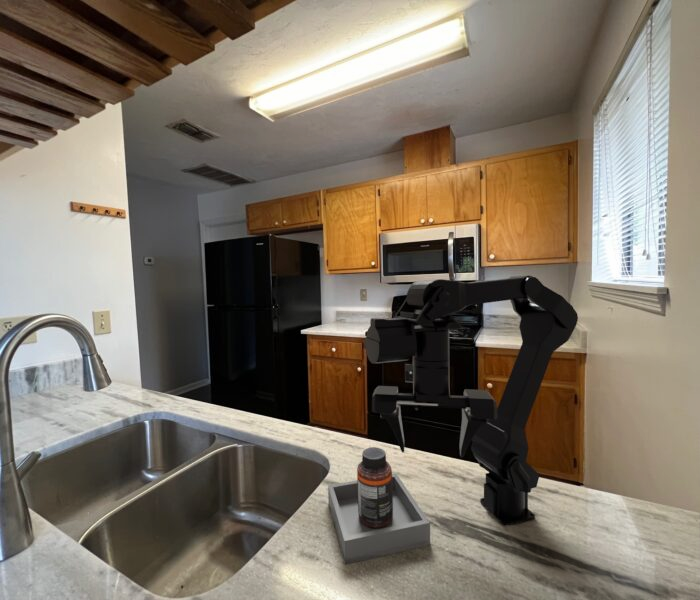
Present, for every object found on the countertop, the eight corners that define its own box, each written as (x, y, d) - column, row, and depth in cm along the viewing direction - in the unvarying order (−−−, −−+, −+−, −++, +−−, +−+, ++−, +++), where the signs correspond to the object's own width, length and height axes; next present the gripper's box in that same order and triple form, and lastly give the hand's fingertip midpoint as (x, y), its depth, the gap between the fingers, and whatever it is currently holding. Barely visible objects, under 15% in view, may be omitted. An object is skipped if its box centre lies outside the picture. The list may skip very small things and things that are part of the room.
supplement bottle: (371, 501, 58) (370, 440, 58) (399, 515, 55) (398, 450, 54) (351, 519, 54) (349, 453, 54) (379, 536, 50) (378, 465, 50)
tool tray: (396, 491, 62) (396, 473, 62) (430, 544, 49) (430, 522, 49) (328, 503, 59) (328, 485, 59) (344, 564, 46) (344, 540, 46)
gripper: (481, 349, 57) (481, 435, 58) (378, 347, 61) (379, 428, 61) (498, 363, 46) (498, 469, 47) (370, 360, 50) (372, 458, 50)
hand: (431, 453), depth 52 cm, fingers open, 9 cm apart
